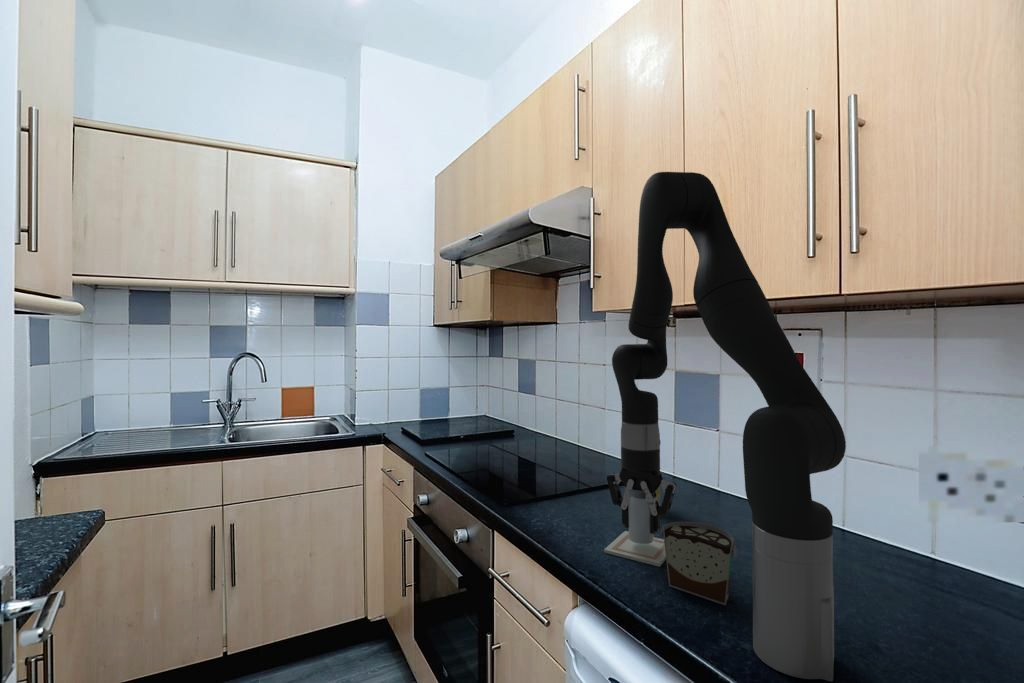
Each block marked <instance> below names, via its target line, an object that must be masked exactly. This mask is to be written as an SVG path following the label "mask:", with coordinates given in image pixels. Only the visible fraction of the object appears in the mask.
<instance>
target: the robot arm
mask: <svg viewBox="0 0 1024 683" xmlns="http://www.w3.org/2000/svg"><path fill="white" fill-rule="evenodd" d="M721 202H722V201H721V200H720V196H719V194H718V191H717V189H716V187H715V186H714V184H713V183H712V181H711V180H710V178H709V177H708V176H706V175H705V174H702V173H698V172H692V171H690V172H688V171H686V172H682V171H658V172H655V173H653V174H652V175H651V176H649V177H648V179H647V180H646V181H645V184H644V186H643V189H642V192H641V196H640V202H639V212H638V232H637V234H638V235H637V258H636V259H637V263H636V266H637V267H636V280H635V289H634V294H633V301H632V304H631V309H630V314H629V320H628V331H629V332H630V333H631V335H632V336H633V337H636V338H638V339H641V340H646V341H647V342H646V343H636V344H635V343H634V344H631V343H629V344H626V343H625V344H620V345H618V346H617V347H616V348H615V350H614V352H613V353H612V357H611V364H612V365H611V366H612V371H613V373H614V376H615V380H616V383H617V386H618V391H619V395H620V401H621V427H620V466H621V470H620V472H619V473H615V472H612V473H610V474H608V475H607V476H606V482H607V486H608V489H609V493H610V497H611V498H610V499H611V500H612V504H613V505H614V506H618V507H620V508H621V523H622V526H623V525H624V528H625V529H628V530H629V520H628V501H629V490H633V489H634V490H639V491H643V492H645V493H646V501H647V504H648V505H649V507H650V510H651V513H652V515H650V533H651V534H654V535H656V534H657V533H658V532H659V531H660V529H661V515H666V514H667V513H668V512H669V511H671V507H672V504H673V500H674V498H675V495H676V494H675V492H676V489H677V486H678V485H677V483H676V482H675V481H674V482H673V481H671V482H669V481H667V480H664V479H663V476H662V475H661V439H660V436H661V435H660V434H661V432H660V427H659V399H658V396H657V394H656V393H653V392H651V391H648V390H647V391H646V390H640V389H639V388H638V387H637V384H636V380H655V379H658V378H660V377H662V376H663V374H665V373H666V370H667V368H668V352H667V327H668V323H669V318H670V315H671V310H672V305H673V301H674V300H673V298H674V297H673V296H674V294H673V293H674V292H673V286H672V282H671V280H670V279H671V278H670V276H669V273H668V271H667V268H666V264H665V260H664V254H663V250H664V249H663V248H664V240H665V236H666V233H667V230H670V229H671V230H674V229H676V230H677V229H683V230H684V229H685V230H686V231H687V232H688V233H689V235H690V236H691V238H692V240H693V242H694V244H695V247H696V249H697V253H698V263H697V264H698V265H697V267H696V273H695V276H694V283H693V290H692V291H693V292H692V294H693V300H694V303H695V305H696V308H697V310H698V313H699V315H700V317H701V320H702V322H703V324H704V326H705V328H706V331H707V333H708V334H709V335H710V337H711V339H712V340H713V341H714V342H715V343H716V345H718V347H720V349H722V351H723V352H724V353H726V355H728V357H729V358H731V359H732V360H733V361H734V362H735V363H736V364H737V365H738V366H740V368H742V369H743V370H744V371H745V372H746V373H747V375H748V376H750V378H751V379H752V380H753V381H754V383H755V384H756V385H757V387H758V388H759V390H760V392H761V394H762V397H763V398H764V400H765V402H766V404H767V406H764V407H761V408H758V409H756V410H754V411H753V412H752V413H751V414H750V415H749V416H748V417H747V420H746V422H745V424H744V428H743V433H742V434H743V435H742V458H743V459H742V460H743V474H744V476H743V477H744V489H745V490H744V491H745V496H746V499H747V502H748V504H749V507H750V509H751V523H752V524H751V525H752V526H751V530H752V531H751V532H752V534H751V535H752V536H751V537H752V538H751V540H752V543H751V544H752V546H751V547H752V549H751V551H752V552H751V554H752V563H751V564H752V646H753V647H752V648H753V651H754V653H755V655H756V656H757V657H758V658H759V659H760V660H761V662H763V663H764V664H766V665H767V666H768V667H770V668H771V669H773V670H775V671H777V672H780V673H782V674H784V675H787V676H790V677H794V678H798V679H803V680H824V681H828V682H833V681H834V669H835V668H834V666H835V664H834V663H835V594H834V593H835V591H834V590H835V586H834V568H833V567H834V557H833V556H834V554H833V552H834V550H833V549H834V546H833V545H834V544H833V540H834V539H833V538H834V537H833V535H834V534H833V532H834V521H833V515H832V512H831V510H830V509H829V508H828V507H827V506H825V505H824V504H822V503H820V502H818V501H815V500H813V497H812V488H811V485H812V484H811V475H812V474H817V473H822V472H826V471H830V470H833V469H834V468H836V467H838V466H839V465H840V464H841V462H842V461H843V459H844V456H845V453H846V450H847V449H846V448H847V446H846V445H847V444H846V443H847V441H846V436H845V433H844V430H843V427H842V425H841V423H840V421H839V419H838V417H837V416H836V414H835V411H833V409H832V408H831V405H829V403H828V402H827V400H826V399H825V397H824V396H823V394H822V393H821V391H820V390H819V388H818V387H817V385H816V384H815V382H814V381H813V380H812V378H811V377H810V376H809V373H808V372H807V371H806V369H805V368H804V366H803V364H802V363H801V362H800V360H799V357H798V356H797V354H796V352H795V350H794V348H793V347H792V345H791V343H790V341H789V338H788V337H787V336H786V333H785V332H784V330H783V328H782V326H781V325H780V323H779V322H778V319H777V317H776V315H775V313H774V311H773V309H772V307H771V305H770V303H769V300H768V299H767V297H766V295H765V293H764V291H763V289H762V287H761V286H760V284H759V281H758V280H757V278H756V276H755V274H753V272H752V270H751V268H750V267H749V264H748V263H747V260H746V258H745V256H744V254H743V252H742V249H741V247H740V246H739V244H738V242H737V240H736V238H735V236H734V233H733V231H732V229H731V226H730V224H729V221H728V218H727V216H726V212H725V210H724V207H723V205H722V203H721ZM621 482H622V484H623V486H624V487H625V490H624V493H623V494H622V491H621V488H620V483H621ZM659 486H660V487H661V488H662V492H663V493H664V495H663V499H662V502H661V503H660V504H659V501H658V499H659V498H658V494H657V491H656V490H657V489H658V487H659ZM652 494H653V498H652ZM622 495H623V496H622Z"/></svg>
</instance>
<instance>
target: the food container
mask: <svg viewBox="0 0 1024 683" xmlns="http://www.w3.org/2000/svg"><path fill="white" fill-rule="evenodd" d="M659 537H660V538H663V539H664V544H665V553H666V560H665V561H666V571H667V580H668V581H667V582H668V587H671V588H674V589H676V590H679V591H682V592H685V593H688V594H691V595H693V596H697V597H699V598H703V599H705V600H709V601H712V602H714V603H716V604H719V605H723V606H727V604H728V602H729V593H730V583H731V574H732V565H733V564H732V563H733V558H734V559H735V558H737V556H738V551H737V546H736V541H735V540H734V537H733V535H731V533H729V532H728V531H727V530H724V529H722V528H720V527H718V526H715V525H711V524H708V523H702V522H697V521H674V522H669V523H666V524H664V525H662V529H661V531H660V536H659Z"/></svg>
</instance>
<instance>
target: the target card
mask: <svg viewBox="0 0 1024 683" xmlns="http://www.w3.org/2000/svg"><path fill="white" fill-rule="evenodd" d="M603 553H604V554H609V555H611V556H616V557H620V558H624V559H628V560H631V561H635V562H639V563H644V564H647V565H651V566H656V567H658V568H659V567H661V566H662V565H663V563H664V562H665V561H666V553H665V544H664V538H661V537H660V538H659V537H654V541H653V542H652V543H649V544H639V543H635V542H632V541H630V540H629V530H628V531H627V530H624V531H623V532H621V534H620V535H619V536H617V537H616V539H614V540H613V541H612V542H611V543H610V544H608V545H607V547H605V548H604V549H603Z"/></svg>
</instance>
